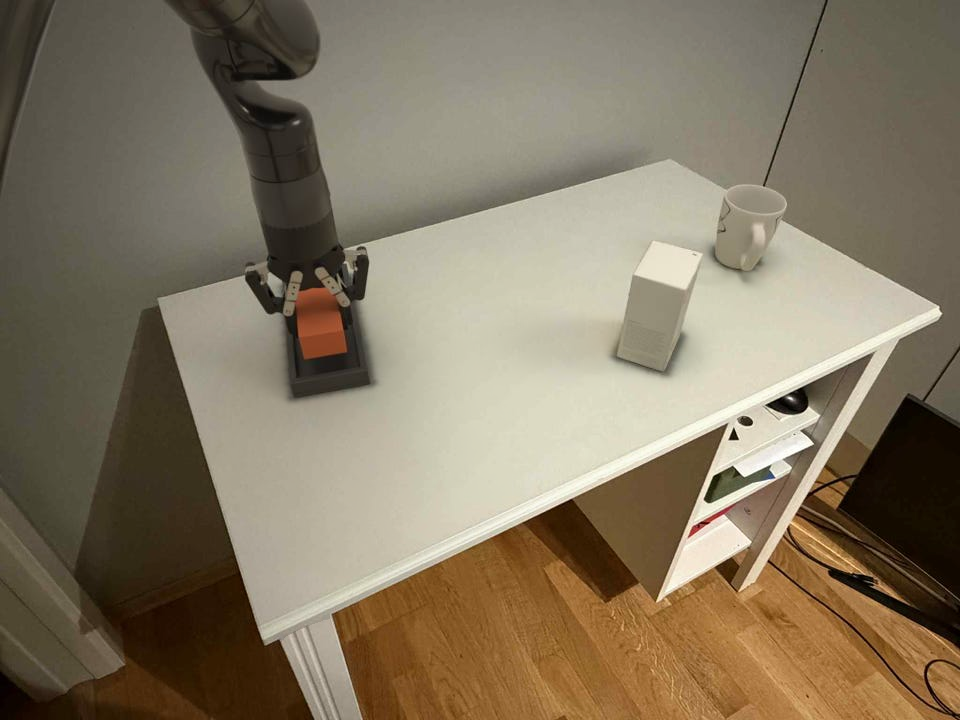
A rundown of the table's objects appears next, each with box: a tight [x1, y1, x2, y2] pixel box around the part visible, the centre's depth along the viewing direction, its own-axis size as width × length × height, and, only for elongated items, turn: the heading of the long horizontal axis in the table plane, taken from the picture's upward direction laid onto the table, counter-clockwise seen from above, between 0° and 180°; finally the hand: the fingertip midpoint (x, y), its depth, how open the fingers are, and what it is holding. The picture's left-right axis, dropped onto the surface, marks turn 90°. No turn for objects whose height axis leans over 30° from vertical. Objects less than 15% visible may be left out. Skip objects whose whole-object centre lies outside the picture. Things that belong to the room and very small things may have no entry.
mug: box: [714, 183, 788, 272], centre depth 92 cm, size 11×8×10 cm
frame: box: [281, 262, 371, 399], centre depth 84 cm, size 23×9×2 cm, turn 15°
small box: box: [616, 240, 704, 372], centre depth 78 cm, size 8×6×13 cm
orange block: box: [295, 287, 347, 359], centre depth 77 cm, size 9×5×4 cm, turn 15°
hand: (322, 329), depth 78 cm, fingers closed on orange block, 5 cm apart
